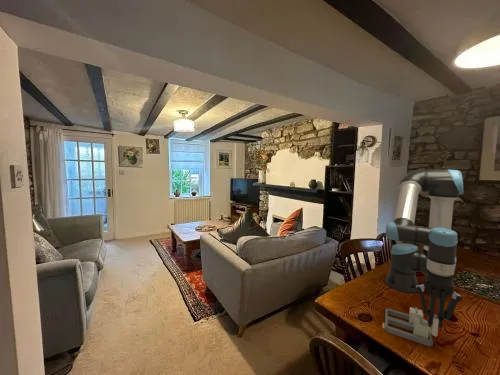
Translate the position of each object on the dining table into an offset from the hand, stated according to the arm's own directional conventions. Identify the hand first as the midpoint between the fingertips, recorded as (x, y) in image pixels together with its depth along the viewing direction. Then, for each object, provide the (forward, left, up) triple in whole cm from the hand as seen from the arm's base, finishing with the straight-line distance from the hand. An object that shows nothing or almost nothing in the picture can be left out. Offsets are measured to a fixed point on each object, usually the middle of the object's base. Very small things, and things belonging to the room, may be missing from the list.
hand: (433, 333), depth 82 cm
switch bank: (-3, -8, -4) cm, 10 cm away
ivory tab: (-7, -5, -3) cm, 9 cm away
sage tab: (0, -4, -3) cm, 5 cm away
